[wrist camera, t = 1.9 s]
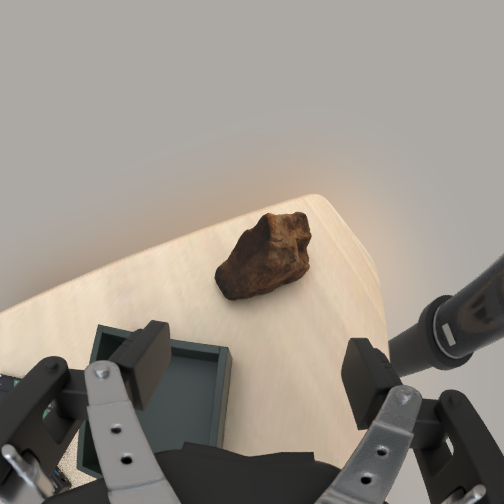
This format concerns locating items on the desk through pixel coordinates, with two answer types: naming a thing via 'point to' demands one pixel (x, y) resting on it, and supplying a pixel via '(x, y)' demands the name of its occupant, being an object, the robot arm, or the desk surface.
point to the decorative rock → (266, 256)
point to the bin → (171, 398)
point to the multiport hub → (59, 482)
